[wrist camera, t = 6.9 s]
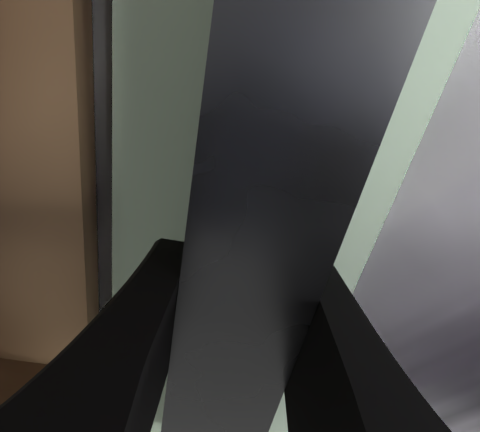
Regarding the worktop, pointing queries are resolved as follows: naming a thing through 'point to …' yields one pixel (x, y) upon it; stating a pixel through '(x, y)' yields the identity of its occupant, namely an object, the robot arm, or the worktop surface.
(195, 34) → the mat
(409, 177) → the worktop surface
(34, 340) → the hook stands
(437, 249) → the worktop surface
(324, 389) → the robot arm
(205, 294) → the rail
